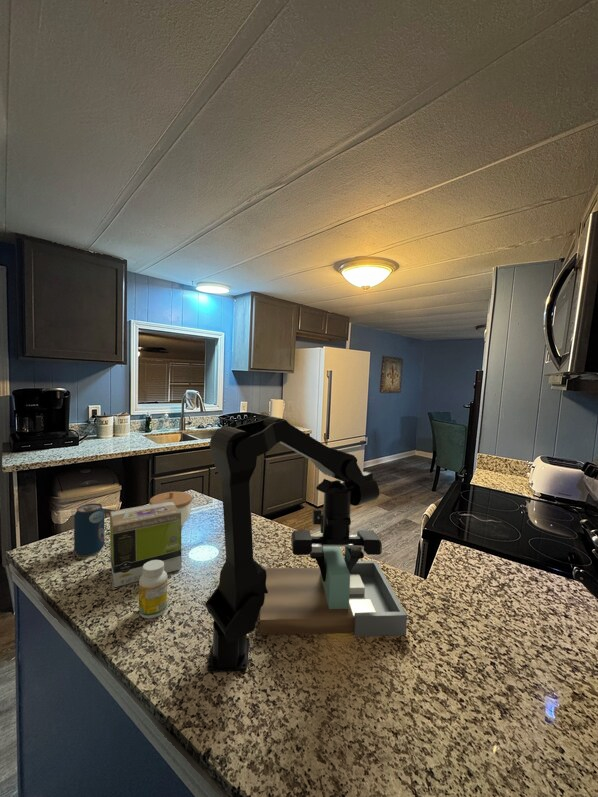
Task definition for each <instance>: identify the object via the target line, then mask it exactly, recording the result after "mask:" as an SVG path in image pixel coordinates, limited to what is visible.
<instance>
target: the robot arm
mask: <svg viewBox="0 0 598 797" xmlns="http://www.w3.org/2000/svg"><path fill="white" fill-rule="evenodd" d="M277 444H280V445H282V446H285V447H286V448H288V449H290V450H292V451H293V452H295V453H297V454H299V455H300V456H302V457H304V458H305V459H308V460H310V461H311V462H312V463H313V464H314V466H315V468H317V470H319V472H321V473H323V475H326V476H328V477H331V478H334V479H336V480H332V481H331V480H329V479H326V478H324V479H323V480H322V481H321V482H320V483H319V484H317V486H316V487H315V488H316V489H315V490H316V491H319V492H321V493H323V513H322V510H321V509H312V519H311V520H312V522H311V523H312V525H318V526H320V529H319V530H320V534H321V535H322V536H311V531H310V530H309V529H304V530H302V529H298V530H296V529H295V530H293V531H292V532H291V550H292V554H293V555H295V556H308V555H309V557H310V559H313V560H315V561H316V563H317V566H318V568H320V571H321V575H322V579H323V582H325V578H326V572H325V556H324V552H323V546H339V547H344V556H343V557H344V560H345V562H346V565H347V568H348V570H349V573H350V572H351V570H352V568H353V567H354V566H355V564H356V563H357V562H358V561H360V559H364V557H365V555H364V554H366V555H368V556H377V555H378V556H380V555H381V554H382V553H383V544H382V540H380V538H379V536H378V535H377V533H376V532H375V531H374V530H373V529H372V530H371V529H369V530H368V529H367V530H366V529H364V530H360V529H359V530H357V532H356V535H355V534H354V535H350V530H351V525H352V524H351V523H352V520H351V507H352V506H353V507H357V506H361V505H365V504H368V503H372V502H375V501H377V499H378V498H379V497H380V488H379V485H378V483H377V481H376V480H375V478H374V473H373V472H370V471H367V470H366V471H361V468H360V467H359V465H358V459H357V457H356V456H355V455H354V454H351V453H348V452H345V451H342V450H339V449H335V448H332V447H328V446H327V445H326V444H323V443H322V442H320V441H318V440H317V439H315V438H314V437H312V436H311V435H309V434H307V433H306V432H304V431H303V430H301V429H299V428H298V427H296V426H294V425H292V424H291V423H289V422H288V420H287V419H284V418H281V417H277V416H267V417H264V418H262V419H259V420H257V421H251V422H248V423H244V424H243V423H242V424H239V425H236V426H234V427H233V426H223V427H220V428H219V429H217V430H216V431H215V432H214V434H213V435H212V436H211V437H210V442H209V447H210V452H211V456H212V460H213V464H214V467H215V468H216V472H217V473H218V476H219V478H220V482H221V491H222V507H223V508H222V509H223V510H222V512H223V526H224V527H223V528H224V529H223V532H224V544H225V545H224V547H225V561H224V564H223V566H222V567H221V570H220V573H219V581H218V582H219V583H218V585H217V587H216V588H215V589H214V591H213V592H212V594H210V597H209V598H208V599H207V601H206V602H205V608H206V611H207V612H208V614H209V615H210V616H211V617H212V619H213V624H212V625H213V626H212V627H213V628H212V645H211V649H210V655H209V658H208V663H207V668H206V669H207V670H206V671H207V672H209V673H211V672H212V673H213V672H214V673H215V672H235V671H237V672H239V671H247V669H248V663H249V652H250V641H251V640H250V638H249V637H247V634H250V633H252V632H254V631H255V628H256V625H257V621H258V619H259V616H260V610H261V607H262V606H263V604H264V600H265V593H266V594H267V593H268V591H267V589H266V577H267V575H266V570H265V569H264V567H262V566H261V565H260V563H258V562H257V561H256V560H255V559H254V543H253V522H252V521H253V520H252V502H251V501H252V500H251V479H252V477H253V475H254V473H255V471H256V468H257V464H258V458H259V456H261V455H263V454H265V453H268V452H269V451H270V450H271V449H273V448H274V446H276V445H277ZM363 551H364V552H363Z"/></svg>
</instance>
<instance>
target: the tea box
mask: <svg viewBox="0 0 598 797" xmlns="http://www.w3.org/2000/svg"><path fill="white" fill-rule="evenodd" d="M109 531H110V532H109V536H110V541H109V542H110V547H109V548H110V549H109V552H110V567H111V573H112V582H113V587H114V588H118V587H121V586H124V585H128V584H132V583H135V582H139V579H140V577H141V576H142V575H143V565H144V564H145V563H147V562H149V561H152V560H161V561H163V562H164V571H165V572H166V573H167V574H168V573H170V572H175V571H179V570H181V569H182V566H183V565H182V563H183V562H182V527H181V513H180V511H179V510H178V509H177V507H176V506H175V504H174V503H173V502H172V501H166V502H161V503H155V504H150V503H149V504H145V505H139V506H135V507H134V506H133V507H129V508H123V509H118V510H117V509H116V510H111V511H109Z"/></svg>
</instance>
